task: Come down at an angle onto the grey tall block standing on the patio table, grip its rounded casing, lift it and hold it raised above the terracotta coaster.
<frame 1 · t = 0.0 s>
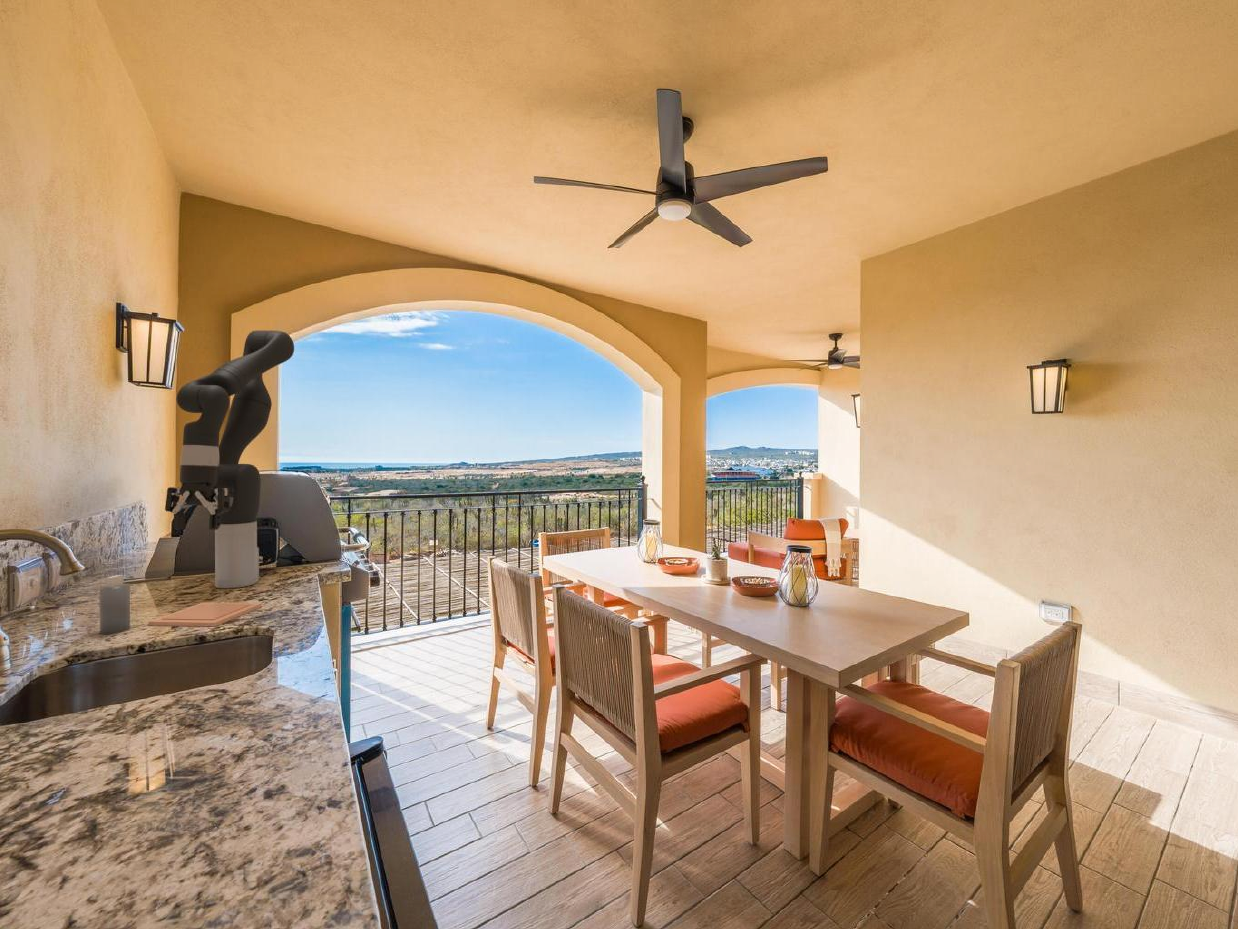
hand: (196, 529, 128), 17 cm above the countertop, tool pointing down, fingers open, 8 cm apart
grey tall block: (115, 630, 105), on the countertop
coaster: (208, 615, 115), on the countertop
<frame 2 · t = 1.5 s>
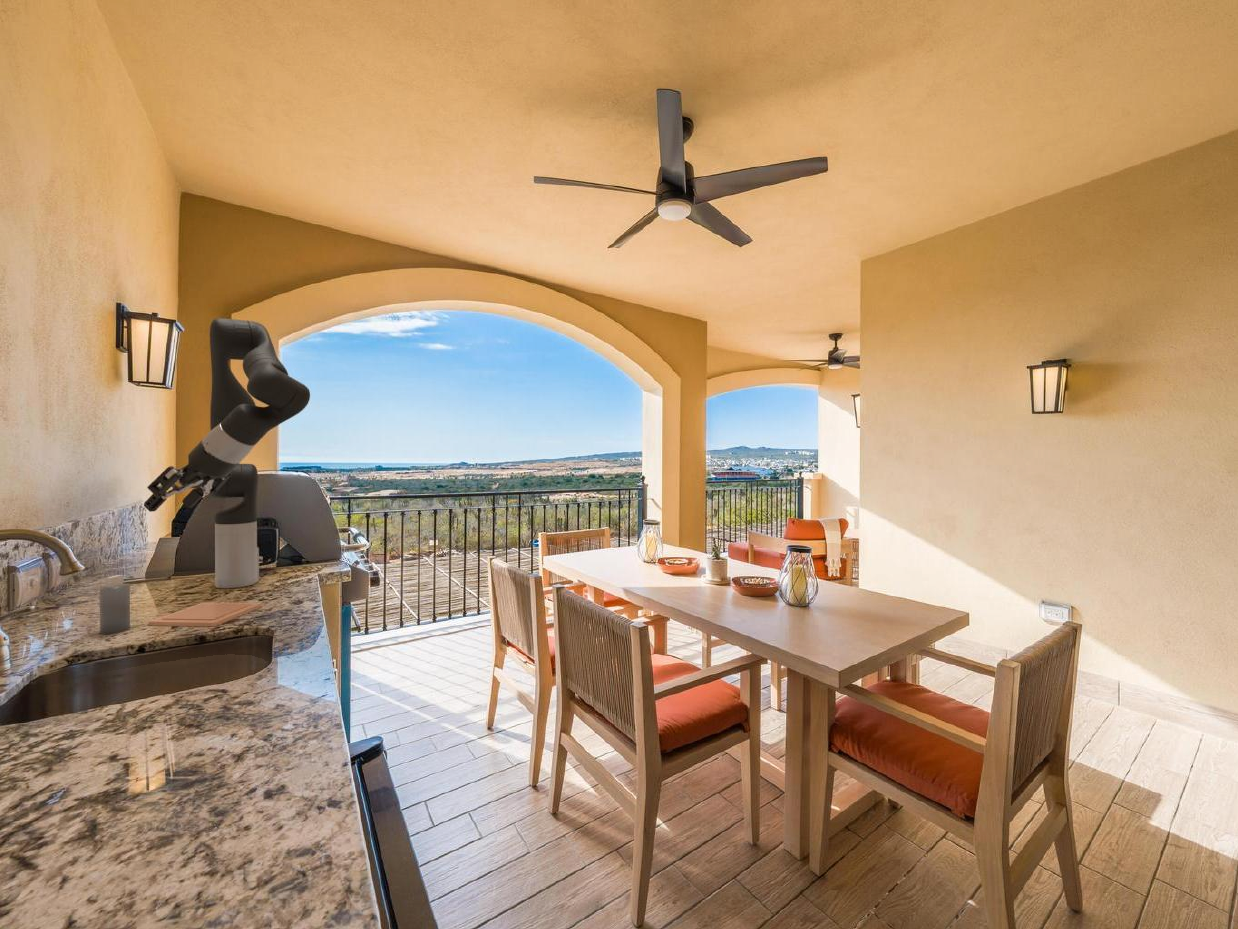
hand: (168, 506, 104), 25 cm above the countertop, tool tilted 45°, fingers open, 8 cm apart
nothing on the countertop moved.
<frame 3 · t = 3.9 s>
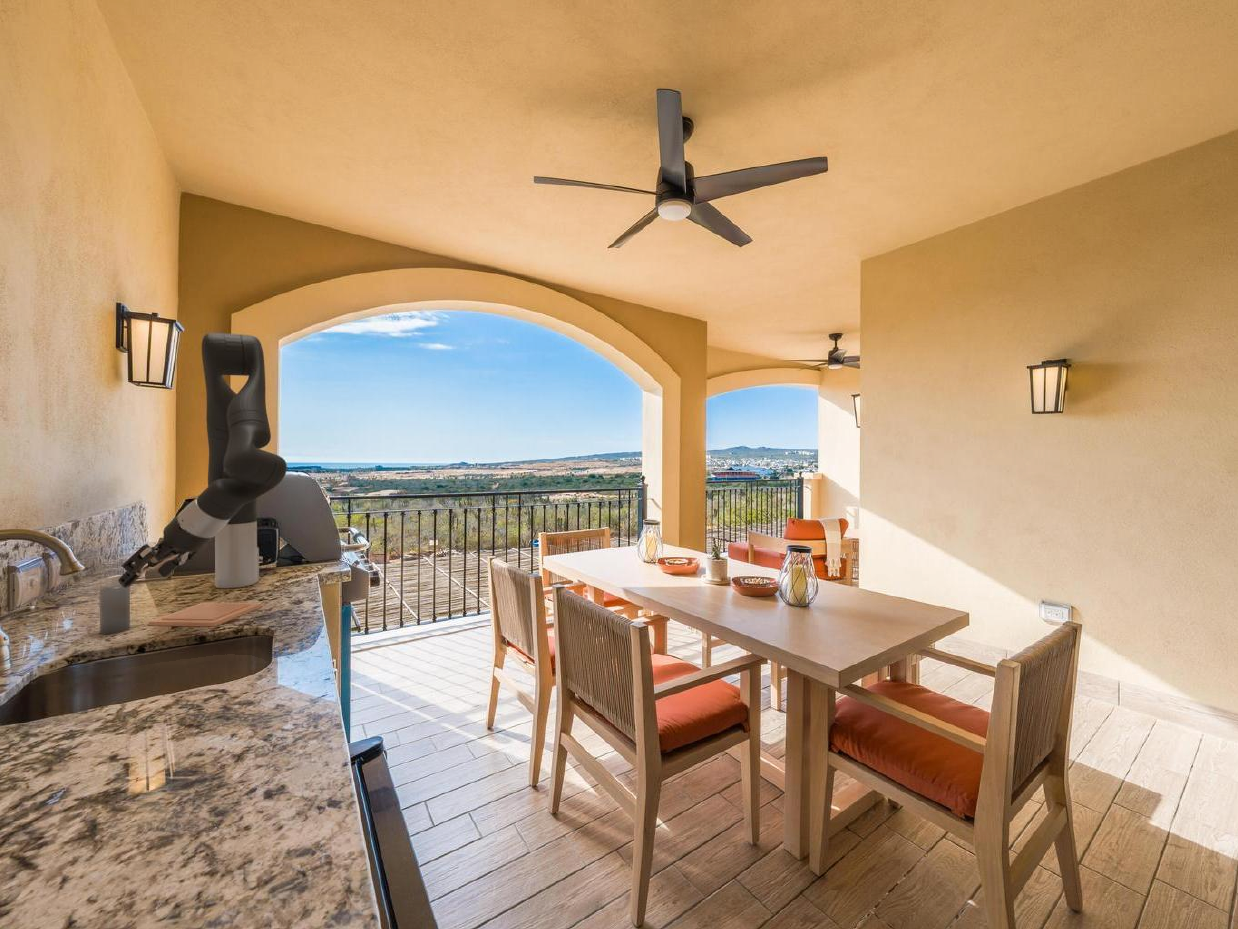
hand: (143, 578, 105), 11 cm above the countertop, tool tilted 45°, fingers open, 8 cm apart
nothing on the countertop moved.
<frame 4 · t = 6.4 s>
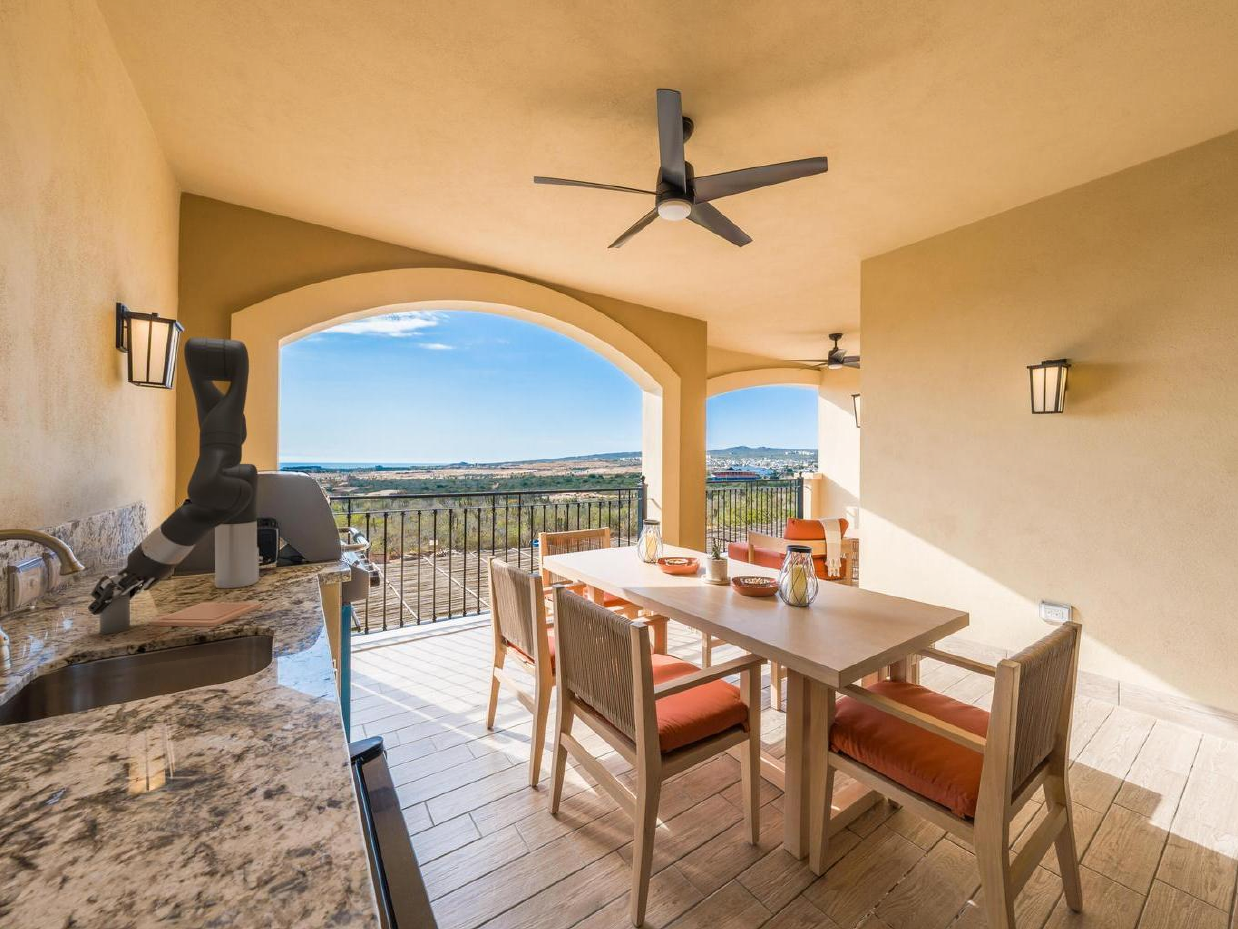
hand: (105, 607, 105), 5 cm above the countertop, tool tilted 45°, fingers closed on grey tall block, 4 cm apart
grey tall block: (114, 630, 105), on the countertop, touching gripper
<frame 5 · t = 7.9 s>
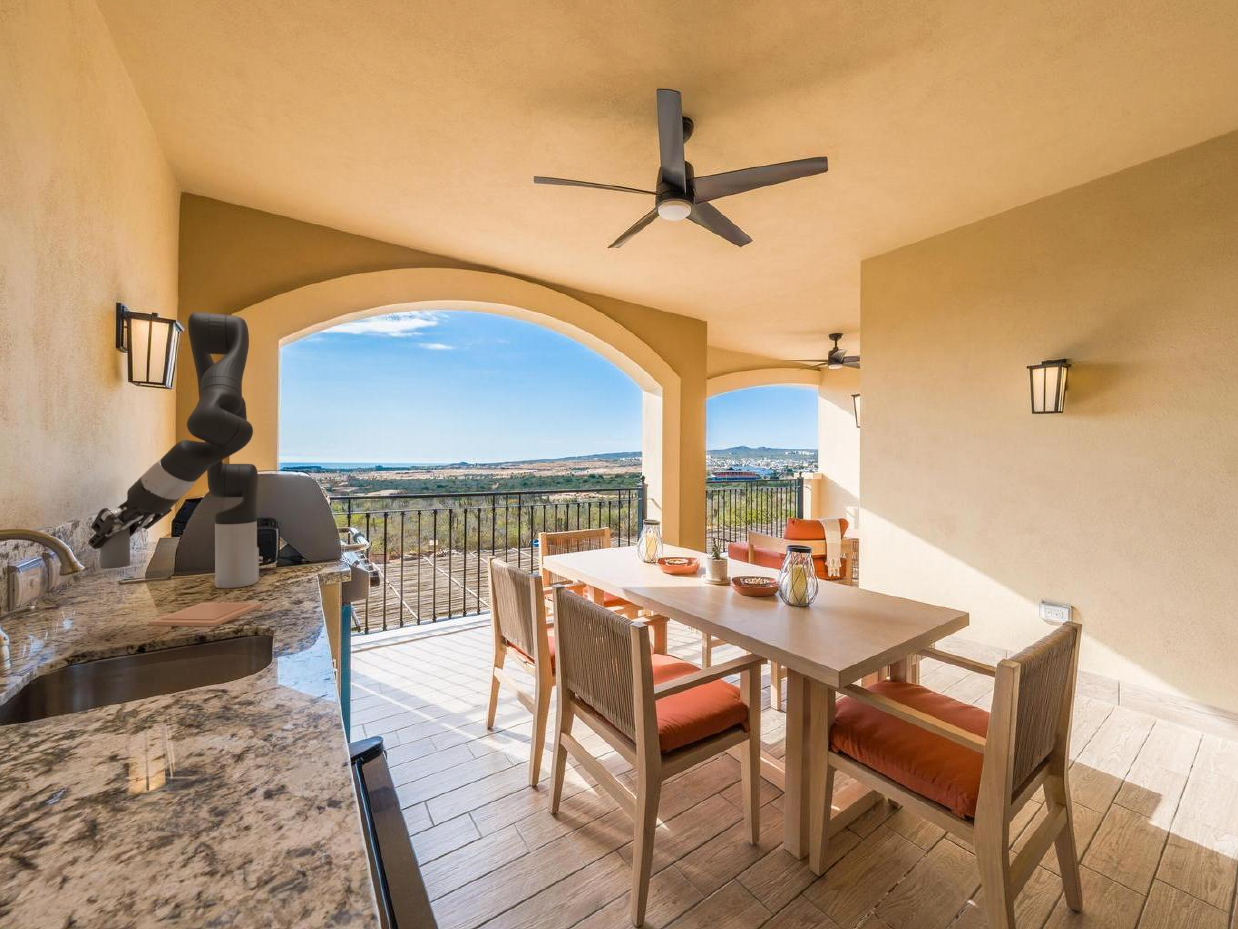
hand: (105, 543, 105), 18 cm above the countertop, tool tilted 45°, fingers closed on grey tall block, 4 cm apart
grey tall block: (115, 566, 105), point 13 cm above the countertop, touching gripper
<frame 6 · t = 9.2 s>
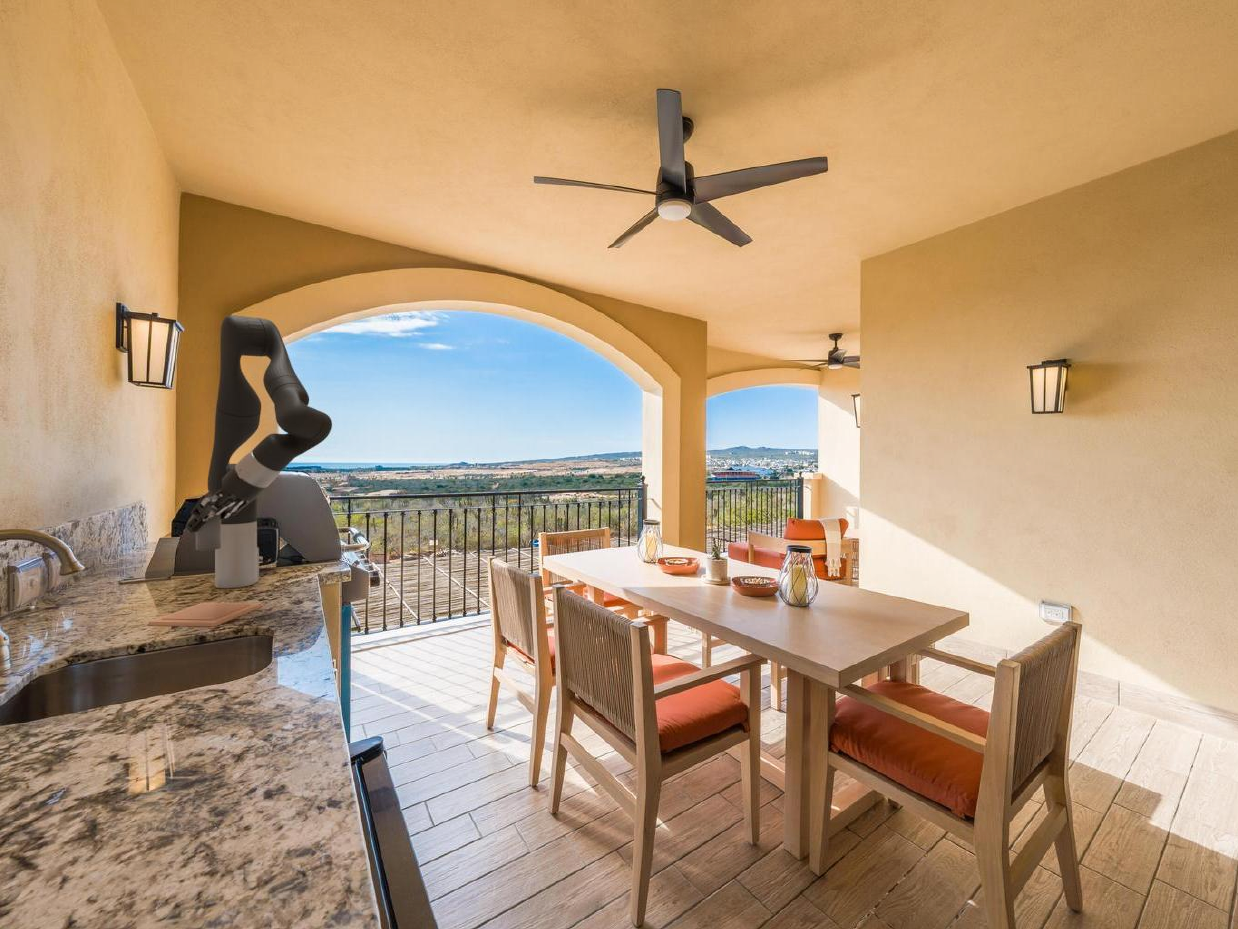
hand: (199, 527, 115), 20 cm above the countertop, tool tilted 45°, fingers closed on grey tall block, 4 cm apart
grey tall block: (208, 548, 115), point 15 cm above the countertop, touching gripper
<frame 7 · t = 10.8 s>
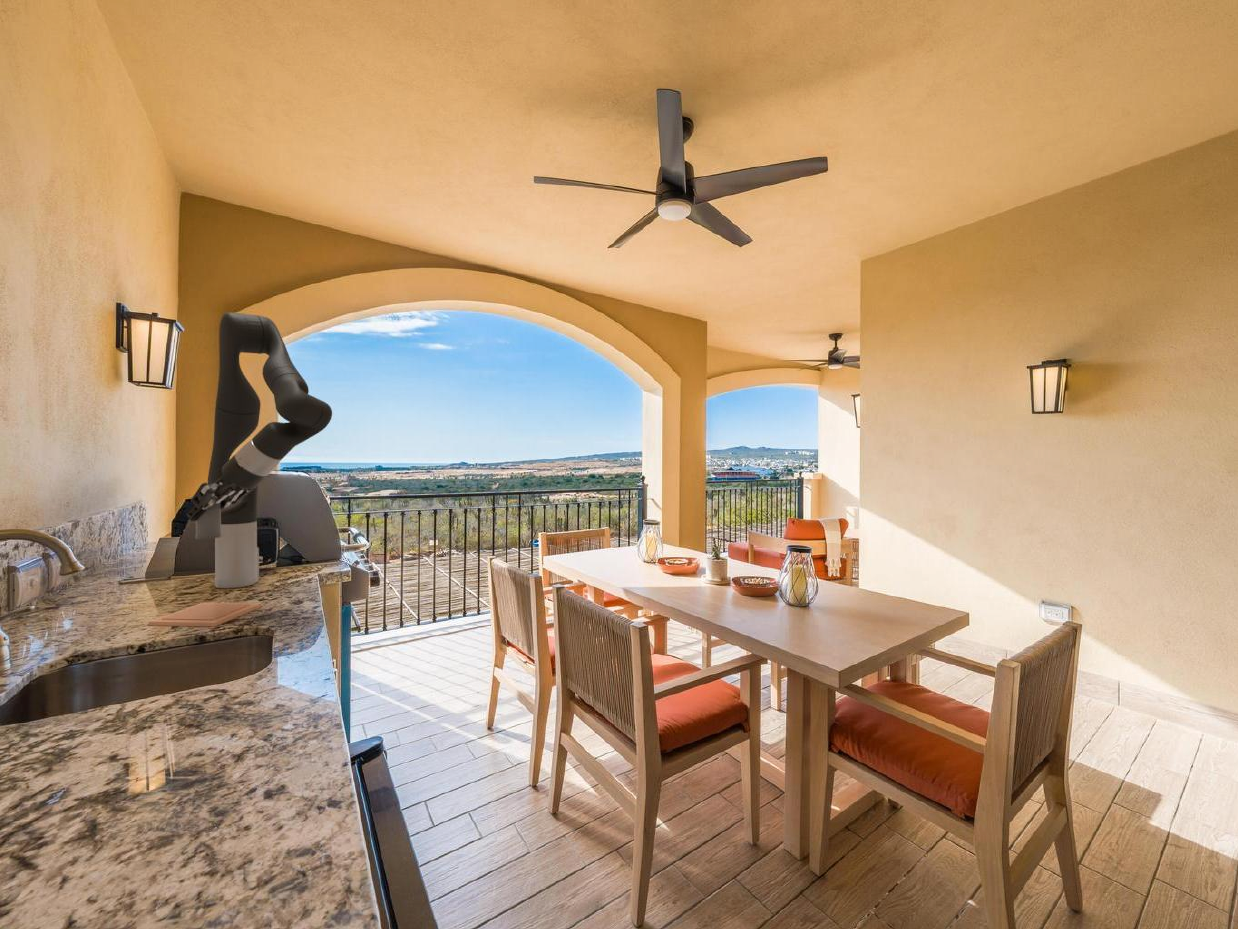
hand: (199, 516, 115), 22 cm above the countertop, tool tilted 45°, fingers closed on grey tall block, 4 cm apart
grey tall block: (208, 537, 115), point 17 cm above the countertop, touching gripper
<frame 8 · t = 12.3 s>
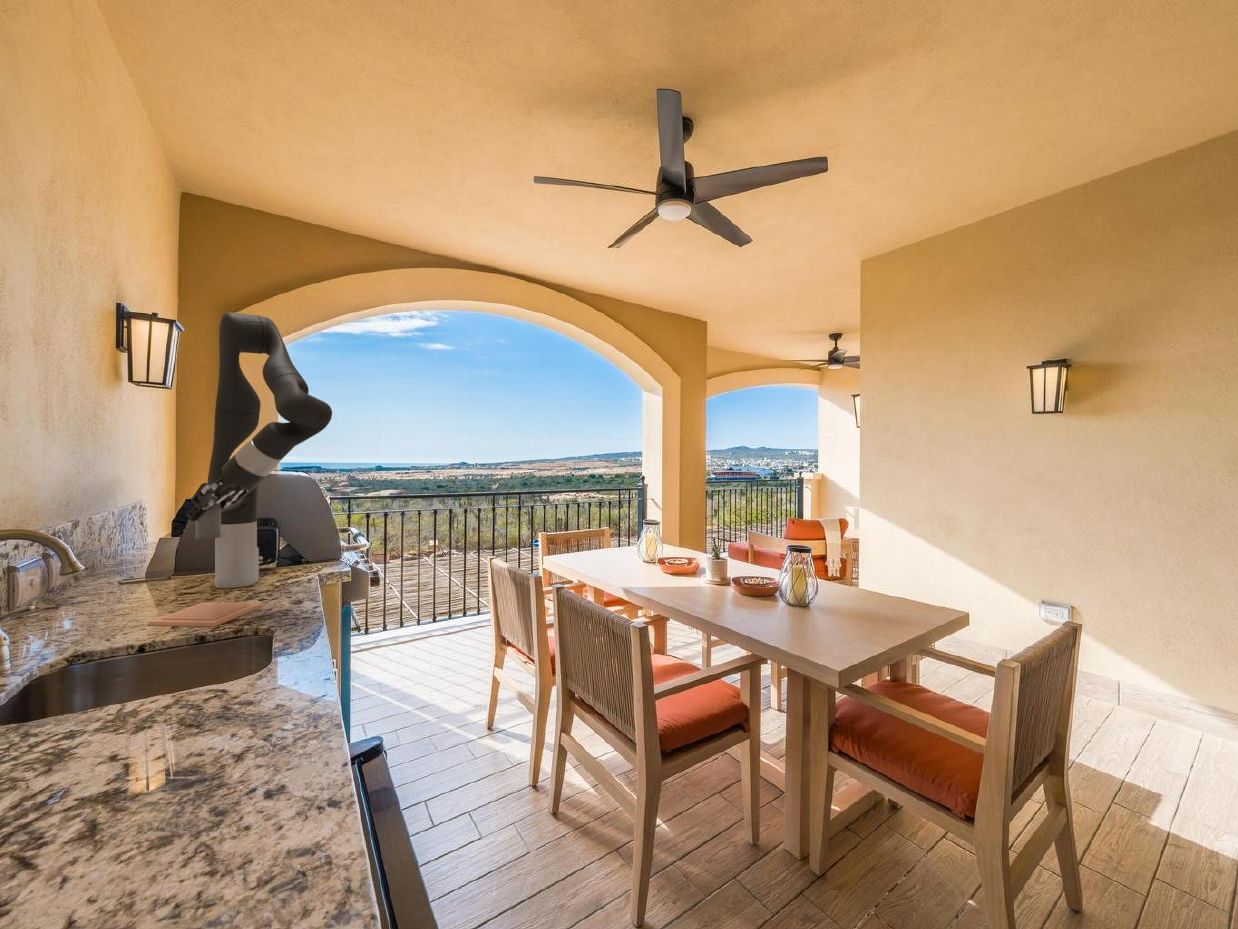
hand: (199, 516, 115), 22 cm above the countertop, tool tilted 45°, fingers closed on grey tall block, 4 cm apart
grey tall block: (208, 537, 115), point 17 cm above the countertop, touching gripper
at the end: the gripper is holding grey tall block; grey tall block point 17.4 cm above the countertop; grey tall block 0.1 cm from the coaster (horizontally) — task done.
